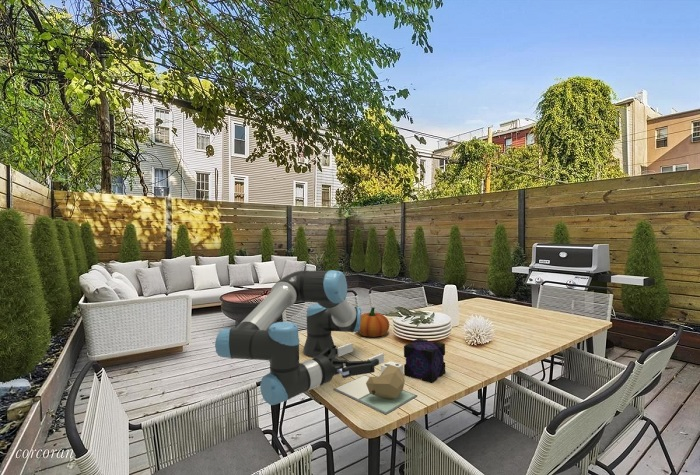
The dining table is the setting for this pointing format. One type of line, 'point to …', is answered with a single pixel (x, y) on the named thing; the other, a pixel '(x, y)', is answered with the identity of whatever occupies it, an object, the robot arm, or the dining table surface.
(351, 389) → the game board
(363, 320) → the pumpkin
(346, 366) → the robot arm
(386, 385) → the low-poly potato
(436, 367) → the energy cube
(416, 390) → the dining table surface
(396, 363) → the die
